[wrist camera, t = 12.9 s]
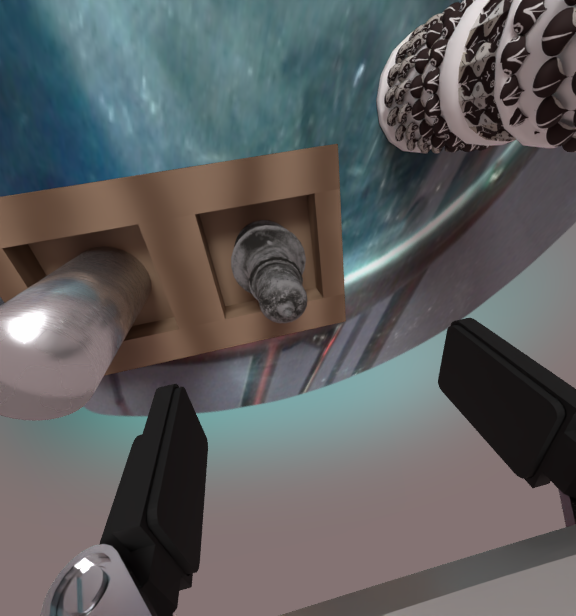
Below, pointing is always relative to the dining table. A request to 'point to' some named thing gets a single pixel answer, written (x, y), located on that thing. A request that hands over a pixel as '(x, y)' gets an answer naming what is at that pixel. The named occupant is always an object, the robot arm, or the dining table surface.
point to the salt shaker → (271, 269)
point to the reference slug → (67, 332)
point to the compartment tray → (188, 246)
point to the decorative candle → (484, 78)
